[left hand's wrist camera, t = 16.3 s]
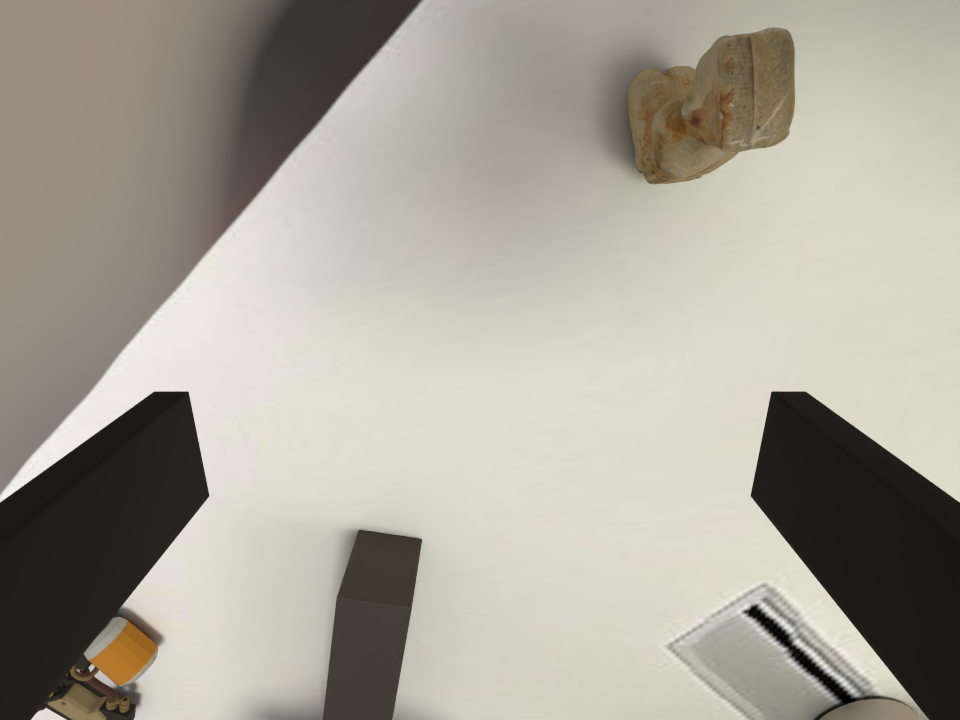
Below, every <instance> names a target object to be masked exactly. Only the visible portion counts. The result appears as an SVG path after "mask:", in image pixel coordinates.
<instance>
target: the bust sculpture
mask: <svg viewBox="0 0 960 720" xmlns="http://www.w3.org/2000/svg"><path fill="white" fill-rule="evenodd" d="M819 720H922V719H921V718H920V717H919V715H918V714H917V713H916V712H915V711H914V710H913V709H912V708H910V707H909V706H907V705H905V704H903V703H900V702H897V701H893V700H887V699H867V700H860V701H856V702H852V703H849V704H846V705H843V706H841V707H838V708H836V709H834V710H832V711H831V712H829V713H827V714H826V715H824V716H823V717H822V718H821V719H819Z"/></svg>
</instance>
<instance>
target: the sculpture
mask: <svg viewBox="0 0 960 720" xmlns="http://www.w3.org/2000/svg"><path fill="white" fill-rule="evenodd" d="M794 62H795V49H794V43H793V40H792V37H791V34H790V32H789V31H788V30H785V29H781V28H767V29H765V30H762V31H759V32H755V33H750V34H740V35H733V36H722V37H720V38H719V39H717V40H716V41H715V42H714V44H713V45H712V47H711V48H710V49H709V50H708V51H707V52H706V53H705V54H704V55H703V56H702V58H701V59H700V61H699V63H698V65H697V68H696V69H693V68H691V67H687V66H676V67H674V68H672V69H670V70H668V72H667V73H666V75H664V74H662V73H660V72H659V71H658V70H657V69H648V70H643V71H641V72H640V73H639V74H637V75H636V76H635V77H634V79H633V80H632V82H631V85H630V88H629V92H628V113H629V121H630V127H631V132H632V138H633V143H634V148H635V157H636V158H635V164H636V167H637V170H638V172H640V173H643V174H644V177H645V179H646V180H647V182H648V183H650V184H667V183H675V182H682V181H689V180H693V179H697V178H700V177H701V176H702V175H704V174H707V173H710V172H712V171H713V170H715V169H717V168H718V167H720V166H721V165H723V164H724V163H726V162H727V161H729V160H730V159H732V158H733V157H734V156H735V155H737V154H738V153H739V152H741V151H745V150H750V149H757V148H766V147H771V146H774V145H776V144H778V143H780V142H781V141H783V140H784V139H786V137H787V136H788V135H789V129H790V125H791V122H792V118H793V114H794V105H795V84H794Z"/></svg>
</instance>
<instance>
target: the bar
mask: <svg viewBox="0 0 960 720" xmlns="http://www.w3.org/2000/svg"><path fill="white" fill-rule="evenodd" d="M421 543H422V539H416V538H409V537H403V536H396V535H389V534H382V533H375V532H369V531H362V530H359V531H358V534H357V538H356V541H355V544H354V547H353V550H352V553H351V556H350V559H349V562H348V565H347V568H346V571H345V574H344V578H343V581H342V584H341V587H340V590H339V593H338V596H337V601H336V610H335V619H334V628H333V637H332V645H331V654H330V663H329V672H328V681H327V689H326V698H325V707H324V716H323V720H392V717H393V712H394V706H395V700H396V694H397V689H398V683H399V677H400V672H401V666H402V660H403V654H404V649H405V643H406V637H407V632H408V626H409V620H410V614H411V609H412V602H413V596H414V589H415V582H416V576H417V569H418V563H419V556H420V550H421Z"/></svg>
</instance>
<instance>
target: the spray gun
mask: <svg viewBox="0 0 960 720" xmlns="http://www.w3.org/2000/svg"><path fill="white" fill-rule="evenodd" d="M157 653H158V645H157V644H155V643H154V642H153V641H152V640H151V639H149V638H148V637H147V636H146V635H145V634H143V633H142V632H141V631H140V630H139V629H137V628H136V627H135V626H134V625H133V624H131V623H130V622H129V621H128V620H126V619H124V618H122V617H115V618H112V619H111V620H110V621H109V622H108V624H107V625H106V626H105V627H104V629H103V630H102V631H101V632H100V634H99V635H98V636H97V637H96V639H95V640H94V641H93V642H92V644H91V645H90V646H89V647H88V649H87V650H86V651H85V652H84V654H83V655H82V656H81V657H80V659H79V660H78V661H77V662H76V664H75V665H74V666H73V667H72V669H71V670H70V673H71V675H72V676H73V678H71V677H68V674H67V675H66V676H65V677H64V679H63V680H62V681H61V682H60V684H59V685H58V686H57V687H56V689H55V690H54V691H53V692H52V694H51V695H50V696H49V697H48V699H47V700H46V701H45V702H44V704H43V705H42V706H41V707H40V709H39V710H38V711H40V710H44V709H45V708H48V709H49V710H51V711H53V712H55V713H56V714H58V715H60V716H61V717H63V718H65V719H67V720H133V719H134V718H135V709H136V705H135V704H131V703H130V698H129V697H128V696H125V697H123V698H122V699H118V694H116V693H115V691H114V690H113V689H112V688H111V687H109V686H107V685H105V684H104V683H102V682H101V681H99V680H98V679H96V678H95V677H94V675H95V674H96V673H97V672H98V671H99V670H100V671H101V672H103V673H104V674H105V675H106V676H107V677H108V678H110V679H111V680H112V681H113V682H114V683H116V684H117V685H118V686H124V685H127V684H130V683H133V682H134V681H136V680H137V679H138V678H139V677H140V676H142V675H143V674H144V673H145V671H146V670H147V669H148V668H149V667H150V666H151V665H152V664H153V662H154V661H155V659H156V657H157ZM91 664H93V665H94V666H95V668H94V669H93V671H92V672H91V673H90V671H89V668H88V667H89V666H90V665H91ZM76 668H78V669H80V673H81V674H80V673H78V672H77V671H76ZM76 679H77V680H80V681H86V682H87V683H88V684H89V685H90V686H92V687H93V688H95V689H96V690H98V691H99V692H101V693H103V694H105V695H106V696H104V697H98V696H96V695H95V694H93V693H92V692H91V691H89V690H88V689H86V688H85V687H83V686H82V685H80V684H78V683H75V682H76ZM38 711H37V712H38ZM37 712H36V713H37Z"/></svg>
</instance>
